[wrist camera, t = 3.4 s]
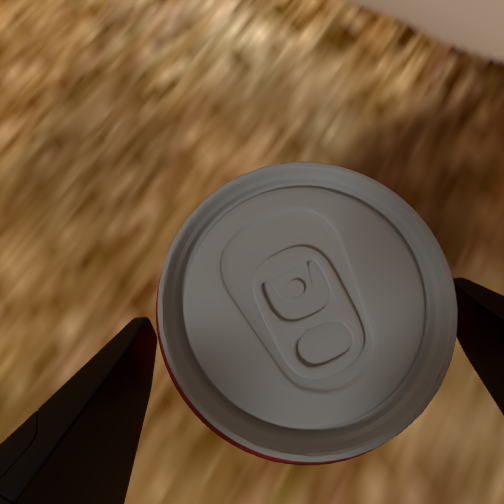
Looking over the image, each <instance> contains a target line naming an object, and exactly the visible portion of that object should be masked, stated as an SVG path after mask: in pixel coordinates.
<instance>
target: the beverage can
mask: <svg viewBox="0 0 504 504" xmlns="http://www.w3.org/2000/svg"><path fill="white" fill-rule="evenodd" d="M457 313H458V308H457V300H456V293H455V287H454V281H453V278H452V274H451V271H450V268H449V265H448V262H447V260H446V257H445V255H444V253H443V251H442V249H441V247H440V245H439V243H438V241H437V239H436V238H435V236H434V234H433V233H432V231H431V230H430V228H429V227H428V226H427V224H426V223H425V222H424V220H423V219H422V218H421V217H420V216H419V214H418V213H417V212H416V211H415V210H414V209H413V208H412V207H411V206H410V205H409V204H408V203H407V202H406V201H404V200H403V199H402V198H401V197H400V196H399V195H397V194H396V193H395V192H393V191H392V190H390V189H389V188H387V187H386V186H384V185H383V184H381V183H379V182H378V181H376V180H374V179H372V178H370V177H368V176H365V175H363V174H361V173H359V172H356V171H353V170H350V169H347V168H344V167H340V166H335V165H331V164H324V163H315V162H291V163H281V164H276V165H271V166H267V167H262V168H259V169H256V170H254V171H251V172H248V173H246V174H243V175H241V176H239V177H237V178H235V179H233V180H232V181H230V182H228V183H226V184H225V185H223V186H222V187H220V188H219V189H217V190H216V191H215V192H213V193H212V194H211V195H210V196H209V197H207V198H206V199H205V200H204V201H203V202H202V203H201V204H200V205H199V206H198V207H197V208H196V209H195V210H194V211H193V213H192V214H191V215H190V216H189V217H188V218H187V220H186V221H185V223H184V224H183V226H182V227H181V229H180V230H179V232H178V234H177V235H176V237H175V239H174V241H173V243H172V245H171V247H170V250H169V252H168V255H167V257H166V260H165V262H164V266H163V269H162V273H161V276H160V281H159V286H158V291H157V301H156V324H157V333H158V340H159V344H160V349H161V353H162V356H163V359H164V362H165V365H166V368H167V370H168V372H169V375H170V377H171V379H172V381H173V383H174V385H175V387H176V389H177V390H178V392H179V393H180V395H181V397H182V398H183V400H184V401H185V402H186V404H187V405H188V406H189V408H190V409H191V410H192V411H193V412H194V414H195V415H196V416H197V417H198V418H199V419H200V420H201V421H202V422H203V423H204V424H205V425H206V426H207V427H209V428H210V429H211V430H212V431H213V432H215V433H216V434H217V435H219V436H220V437H221V438H222V439H224V440H226V441H227V442H229V443H230V444H232V445H234V446H236V447H238V448H240V449H241V450H243V451H245V452H248V453H250V454H253V455H255V456H258V457H260V458H264V459H267V460H271V461H275V462H280V463H285V464H294V465H321V464H331V463H335V462H340V461H345V460H348V459H351V458H354V457H358V456H360V455H362V454H365V453H367V452H369V451H371V450H373V449H375V448H377V447H379V446H381V445H382V444H384V443H385V442H387V441H389V440H390V439H392V438H393V437H395V436H396V435H398V434H399V433H401V432H402V431H403V430H404V429H406V428H407V427H408V426H409V425H410V424H411V423H412V422H413V421H414V420H415V419H416V418H417V417H418V416H419V415H420V414H421V413H422V412H423V411H424V410H425V408H426V407H427V406H428V404H429V403H430V401H431V400H432V399H433V397H434V396H435V394H436V393H437V391H438V390H439V388H440V386H441V383H442V381H443V379H444V377H445V375H446V372H447V370H448V368H449V365H450V362H451V359H452V355H453V351H454V346H455V341H456V336H457Z"/></svg>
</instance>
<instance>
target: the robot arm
mask: <svg viewBox="0 0 504 504" xmlns="http://www.w3.org/2000/svg"><path fill="white" fill-rule="evenodd" d="M453 281H454V287H455V293H456V300H457V308H458V313H457V339H458V341H459V343H460V345H461V347H462V349H463V351H464V352H465V354H466V356H467V358H468V359H469V361H470V363H471V364H472V366H473V367H474V369H475V371H476V372H477V374H478V375H479V377H480V379H481V380H482V382H483V383H484V385H485V386H486V388H487V390H488V391H489V393H490V394H491V396H492V398H493V399H494V401H495V402H496V404H497V405H498V407H499V409H500V410H501V412H502V413H503V415H504V296H503V295H501V294H498V293H496V292H494V291H492V290H490V289H487V288H485V287H483V286H481V285H478V284H476V283H474V282H472V281H470V280H467V279H465V278H453ZM156 347H157V336H156V333H155V331H154V328H153V326H152V324H151V322H150V320H149V318H148V317H139V318H134V319H133V320H132V321H130V322H129V323H128V324H127V325H126V326H125V327H124V328H123V329H122V330H121V331H120V332H119V333H118V334H117V335H116V336H115V337H114V338H113V339H112V340H110V341H109V342H108V343H107V344H106V345H105V346H104V347H103V348H102V349H101V350H100V351H99V352H98V353H97V354H96V355H95V356H94V357H93V358H91V359H90V360H89V361H88V362H87V363H86V364H85V365H84V366H83V367H82V368H81V369H80V370H79V371H78V372H77V373H76V374H75V375H74V376H73V377H71V378H70V379H69V380H68V381H67V382H66V383H65V384H64V385H63V386H62V387H61V388H60V389H59V390H58V391H57V392H56V393H55V394H54V395H52V396H51V397H50V398H49V399H48V400H47V401H46V402H45V403H44V404H43V405H42V406H41V407H40V408H39V409H38V411H36V412H34V413H33V414H32V415H31V416H30V417H29V418H28V419H27V420H26V421H25V422H24V423H23V424H22V425H21V426H20V427H19V428H17V429H16V430H15V431H14V432H13V433H12V434H11V435H10V436H9V437H8V438H7V439H5V440H4V441H3V442H2V443H1V444H0V504H124V502H125V497H126V493H127V489H128V485H129V481H130V476H131V472H132V468H133V464H134V460H135V455H136V451H137V447H138V443H139V439H140V434H141V430H142V426H143V422H144V417H145V413H146V409H147V405H148V401H149V396H150V392H151V386H152V380H153V371H154V363H155V355H156Z"/></svg>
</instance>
